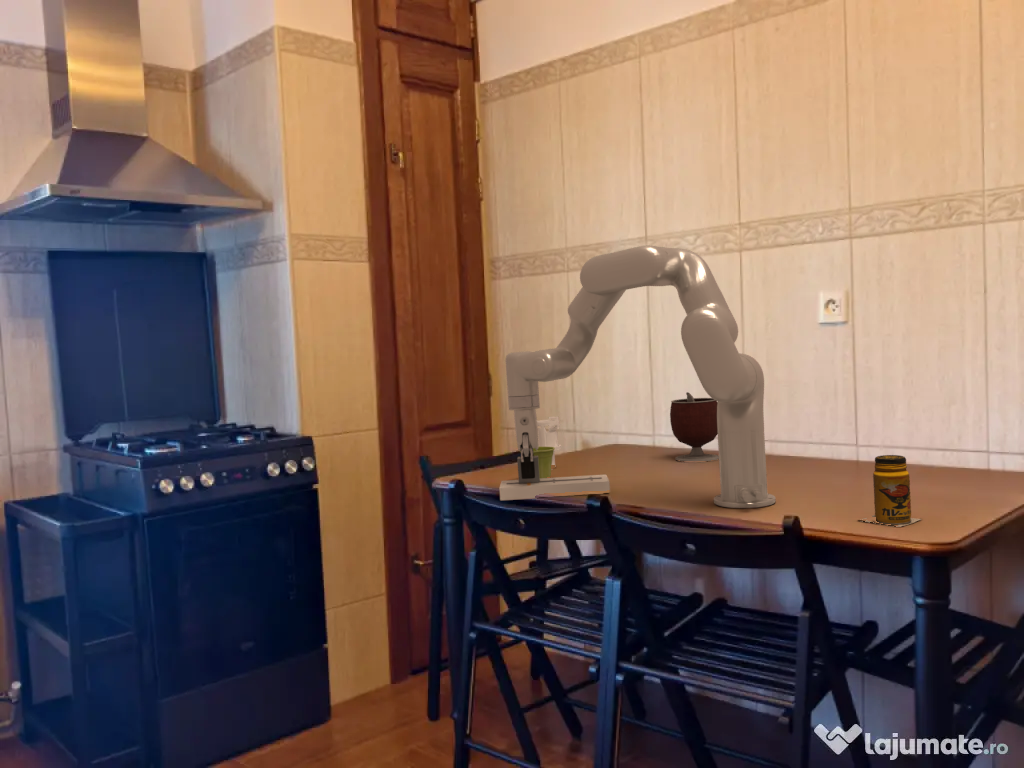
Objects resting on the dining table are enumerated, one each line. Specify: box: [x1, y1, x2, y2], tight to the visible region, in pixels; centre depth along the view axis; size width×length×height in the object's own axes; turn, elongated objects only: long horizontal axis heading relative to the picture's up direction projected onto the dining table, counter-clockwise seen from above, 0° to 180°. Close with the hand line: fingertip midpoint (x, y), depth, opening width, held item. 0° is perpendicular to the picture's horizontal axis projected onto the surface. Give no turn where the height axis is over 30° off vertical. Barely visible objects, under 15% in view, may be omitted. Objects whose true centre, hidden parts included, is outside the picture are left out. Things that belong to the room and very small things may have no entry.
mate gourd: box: [669, 392, 719, 462], centre depth 242 cm, size 16×14×20 cm
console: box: [499, 473, 611, 501], centre depth 205 cm, size 10×26×3 cm, turn 88°
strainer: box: [537, 416, 562, 466], centre depth 244 cm, size 7×7×15 cm
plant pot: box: [519, 447, 555, 478], centre depth 224 cm, size 9×9×9 cm
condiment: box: [862, 454, 922, 528], centre depth 155 cm, size 7×8×12 cm
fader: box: [516, 456, 540, 483], centre depth 205 cm, size 3×5×6 cm, turn 88°
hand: (528, 475), depth 205 cm, fingers open, 7 cm apart
